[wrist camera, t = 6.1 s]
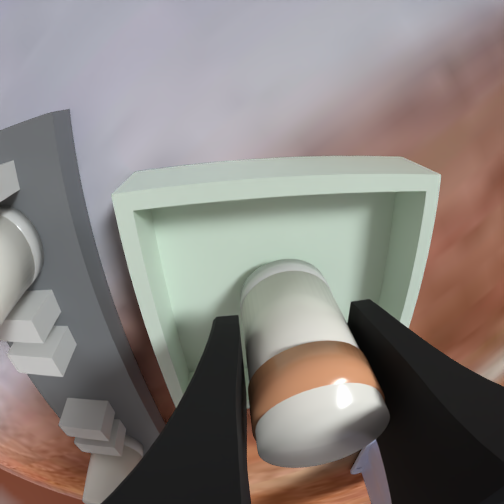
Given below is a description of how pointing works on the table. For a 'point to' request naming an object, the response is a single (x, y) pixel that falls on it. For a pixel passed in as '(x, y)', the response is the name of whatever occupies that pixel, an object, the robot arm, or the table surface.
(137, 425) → the fuse board
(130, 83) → the table surface
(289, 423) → the cylinder
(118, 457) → the cylinder
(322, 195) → the tray
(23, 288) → the white glossy rounded part
